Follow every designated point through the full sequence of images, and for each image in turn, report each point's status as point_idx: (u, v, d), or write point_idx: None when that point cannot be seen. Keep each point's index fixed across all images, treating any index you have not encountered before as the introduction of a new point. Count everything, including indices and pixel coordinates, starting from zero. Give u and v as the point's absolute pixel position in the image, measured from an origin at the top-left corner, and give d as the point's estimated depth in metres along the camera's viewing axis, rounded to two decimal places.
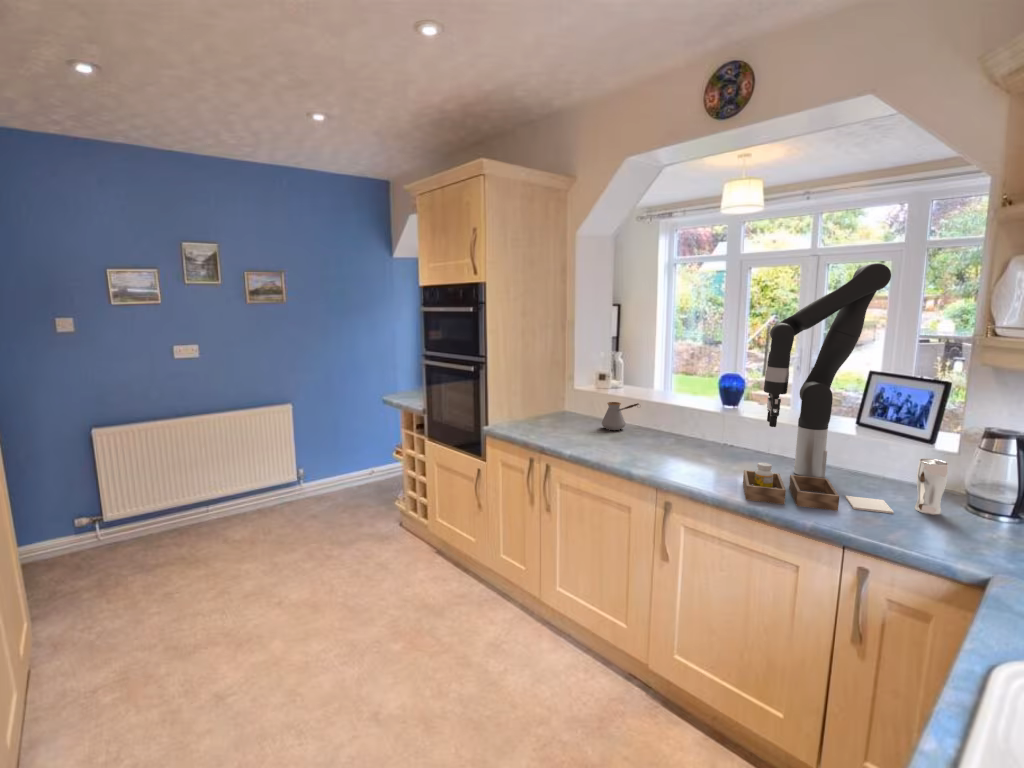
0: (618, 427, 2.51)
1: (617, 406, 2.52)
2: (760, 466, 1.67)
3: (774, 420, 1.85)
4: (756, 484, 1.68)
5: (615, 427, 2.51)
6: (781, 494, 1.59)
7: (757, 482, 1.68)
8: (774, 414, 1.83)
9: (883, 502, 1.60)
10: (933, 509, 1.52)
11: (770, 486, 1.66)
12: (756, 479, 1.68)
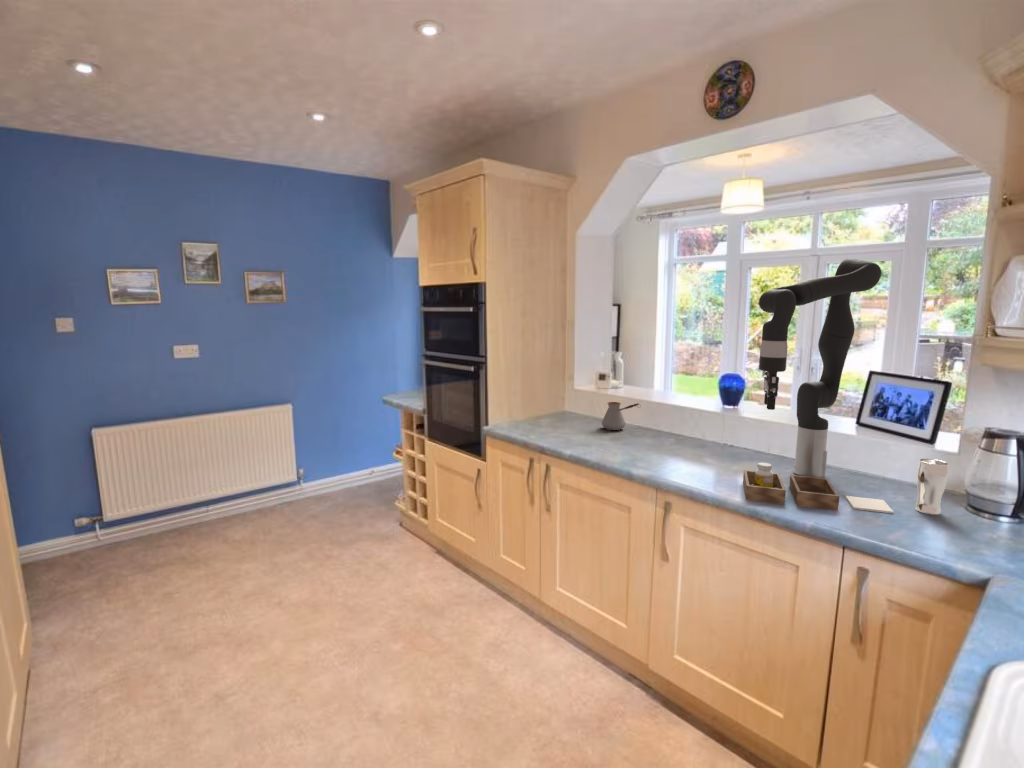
0: (618, 427, 2.51)
1: (617, 406, 2.52)
2: (760, 466, 1.67)
3: (772, 402, 1.60)
4: (756, 484, 1.68)
5: (615, 427, 2.51)
6: (781, 494, 1.59)
7: (757, 482, 1.68)
8: (772, 394, 1.58)
9: (883, 502, 1.60)
10: (933, 509, 1.52)
11: (770, 486, 1.66)
12: (756, 479, 1.68)
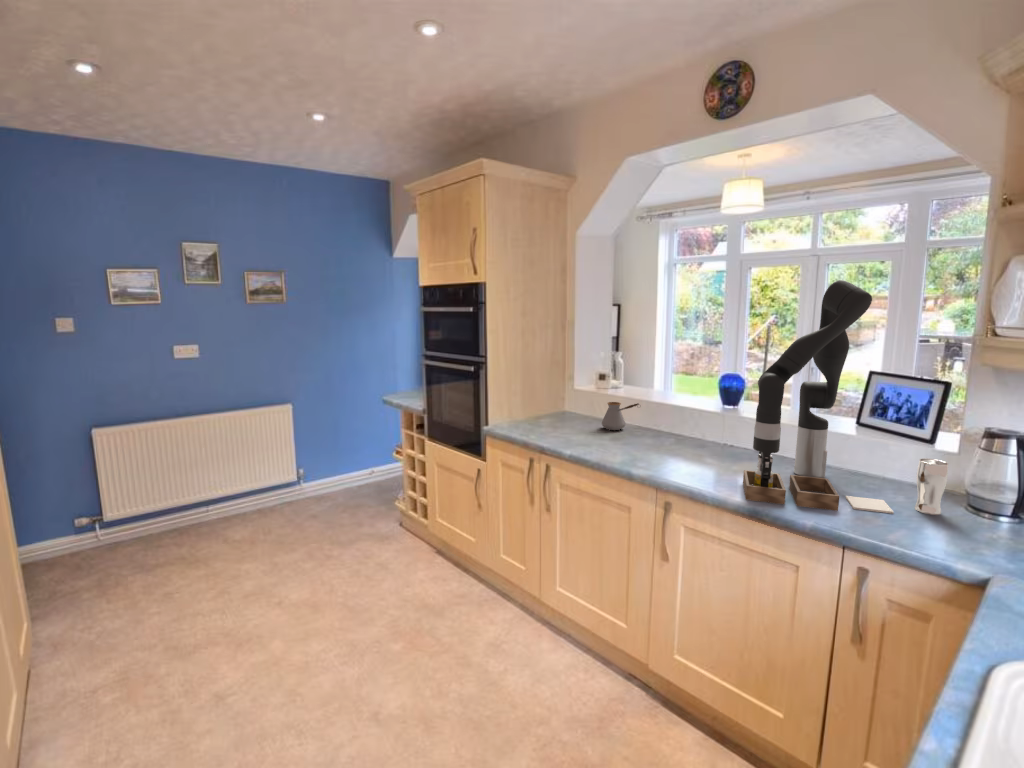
0: (618, 427, 2.51)
1: (617, 406, 2.52)
2: None
3: (765, 483, 1.65)
4: (756, 484, 1.68)
5: (615, 427, 2.51)
6: (781, 494, 1.59)
7: (757, 482, 1.68)
8: (765, 477, 1.63)
9: (883, 502, 1.60)
10: (933, 509, 1.52)
11: (770, 486, 1.66)
12: (756, 479, 1.68)
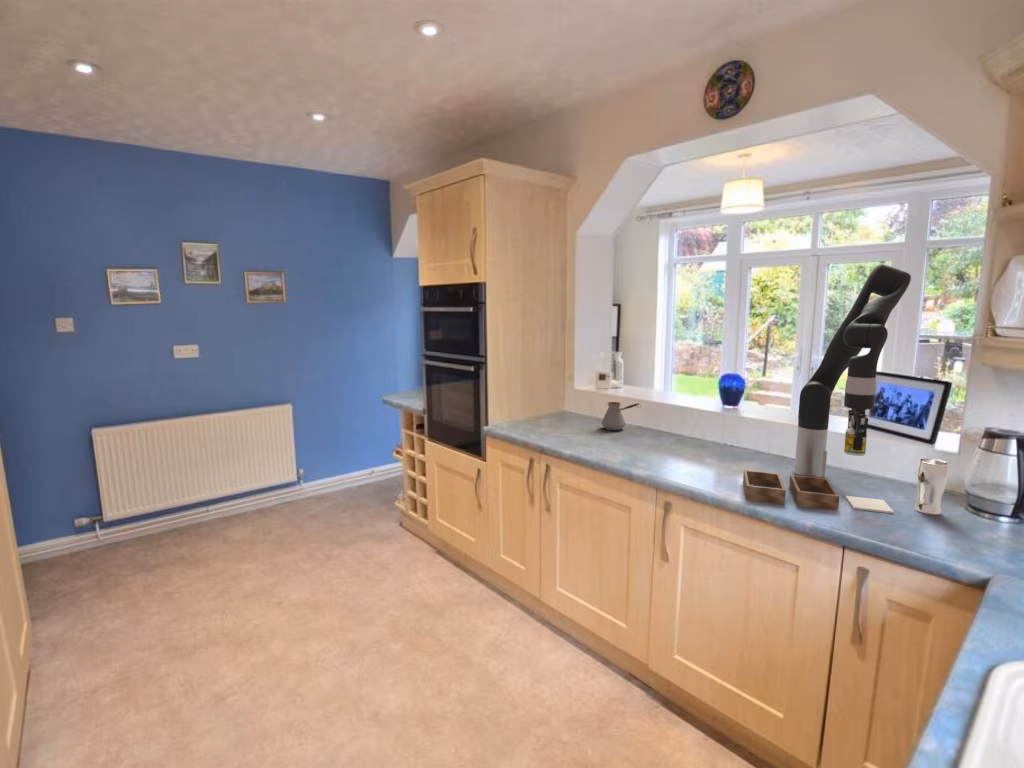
0: (618, 427, 2.51)
1: (617, 406, 2.52)
2: None
3: (859, 442, 1.54)
4: (848, 444, 1.57)
5: (615, 427, 2.51)
6: (781, 494, 1.59)
7: (849, 442, 1.57)
8: (860, 435, 1.52)
9: (883, 502, 1.60)
10: (933, 509, 1.52)
11: (864, 445, 1.55)
12: (847, 438, 1.57)
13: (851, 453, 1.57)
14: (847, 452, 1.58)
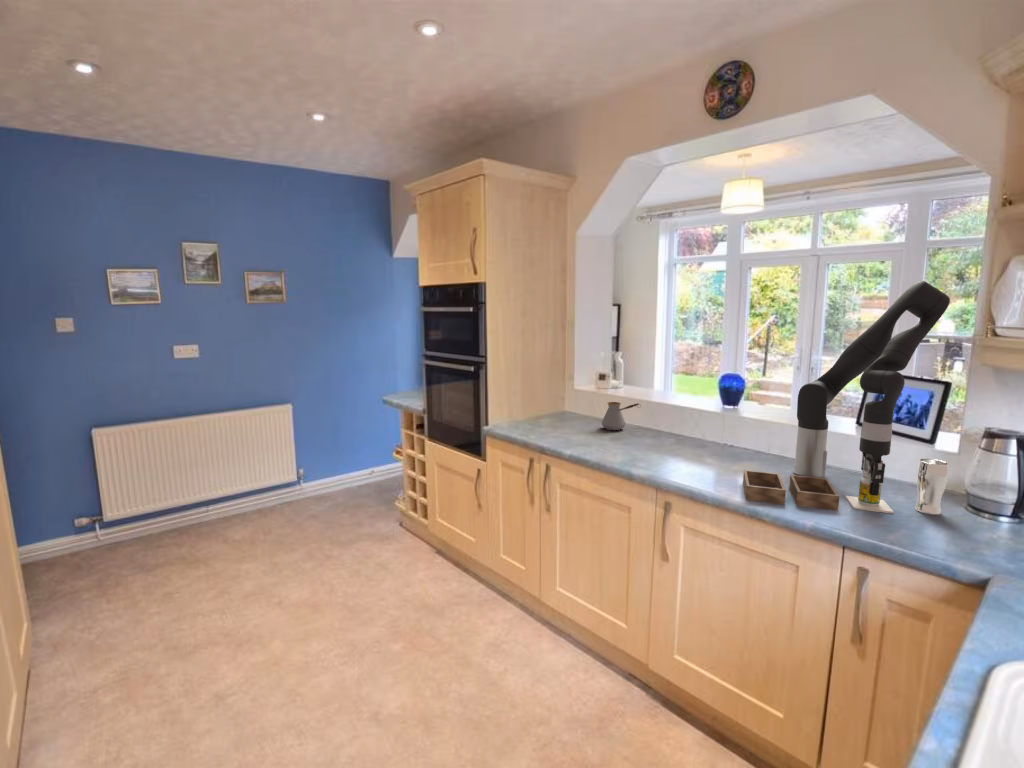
0: (618, 427, 2.51)
1: (617, 406, 2.52)
2: (867, 474, 1.57)
3: (876, 488, 1.54)
4: (862, 494, 1.58)
5: (615, 427, 2.51)
6: (781, 494, 1.59)
7: (863, 492, 1.58)
8: (877, 481, 1.52)
9: (883, 502, 1.60)
10: (933, 509, 1.52)
11: (878, 496, 1.56)
12: (862, 488, 1.58)
13: (865, 503, 1.57)
14: (861, 502, 1.58)
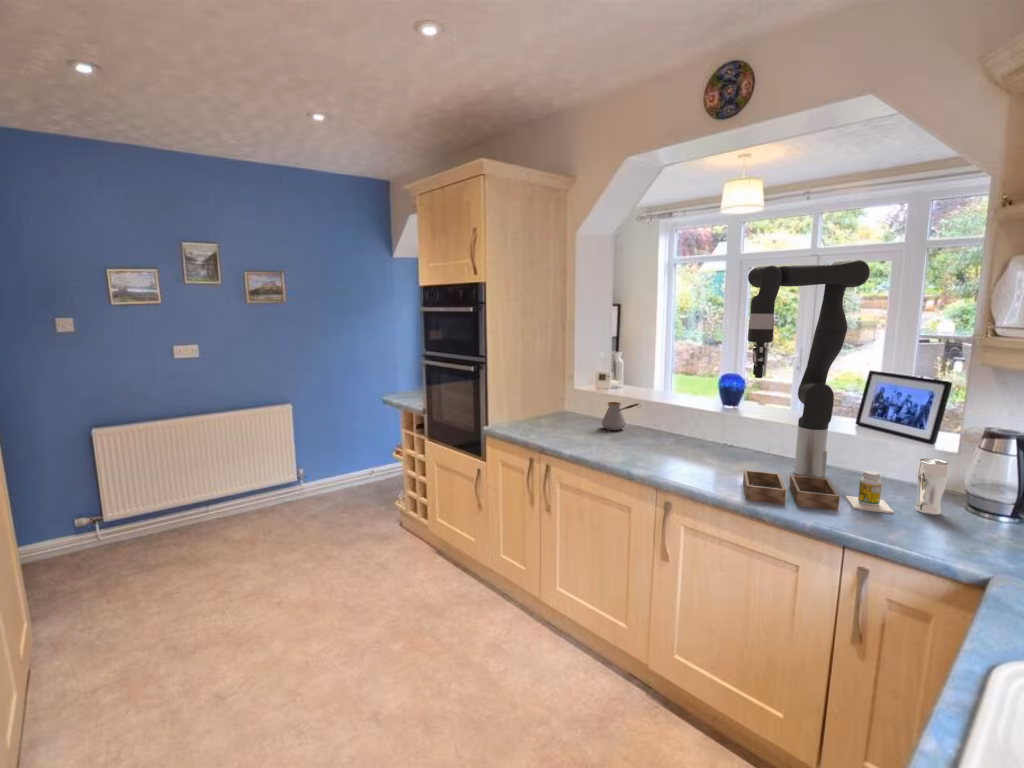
0: (618, 427, 2.51)
1: (617, 406, 2.52)
2: (867, 474, 1.57)
3: (760, 370, 1.71)
4: (862, 494, 1.58)
5: (615, 427, 2.51)
6: (781, 494, 1.59)
7: (863, 492, 1.58)
8: (759, 363, 1.69)
9: (883, 502, 1.60)
10: (933, 509, 1.52)
11: (878, 496, 1.56)
12: (862, 488, 1.58)
13: (865, 503, 1.57)
14: (861, 502, 1.58)
